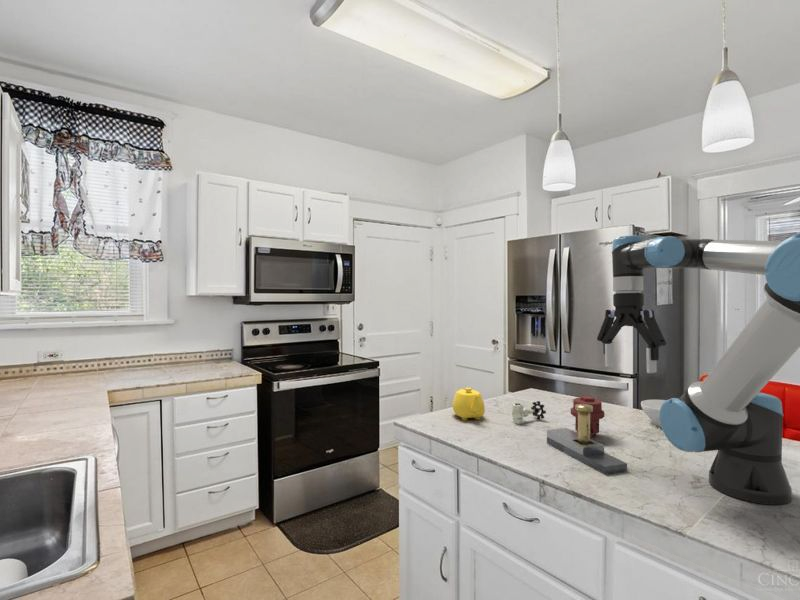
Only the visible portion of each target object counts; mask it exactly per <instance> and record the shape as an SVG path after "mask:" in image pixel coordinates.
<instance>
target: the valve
mask: <svg viewBox="0 0 800 600" xmlns="http://www.w3.org/2000/svg"><path fill="white" fill-rule="evenodd" d="M544 408H545V405H544V404H541V401H540V400H537V401H534V402H532V406H531V407H530V408H529V409H528V408H526V407H524V404H523V403H519V402H514V403H512V411H511V415H512V423H513V424H516V425H522V424H524V418H527V417H529V415H532V416H533V417H536V420H541V419H542V420H543V419H545V414H547V411H546V410H545V409H544ZM539 413H540V414H539Z"/></svg>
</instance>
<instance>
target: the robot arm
mask: <svg viewBox="0 0 800 600" xmlns="http://www.w3.org/2000/svg"><path fill="white" fill-rule="evenodd" d="M611 249H612V250H611V256H612V257H611V258H612V261H611V262H612V291H613V292H615V293H613V295H612V301H613V303H612V304H613V306H614V307H615V309H606V310H605V314H604V320H603V322H602V324H601V327H600V330H599V333H598V335H597V341H598V342H602V344H603V349H602V352H603V355H604V363H605V364H604V367H607V368H608V367H615V343H614V342H613V341H614V340H615V338H616V336H617V335H618V333H619V332H620V331H621V330H622V328H623V327H633V328H635V329H636V331H637V332H638V333H639V334H640V337H642V339H643V340H644V342H645V344H647V347H646V350H645V351H646V353H645V355H646V357H645V358H646V360H645V361H646V374H653V373H654V374H656V373H658V372H657V370H658V367H657V365H658V364H657V363H658V362H657V361H659V359H660V356H659V353H660V351H659V349H660V348H661V347H664V346H667V342H666V340H665V338H664V335H663V333H662V331H661V329H660V326H659V324H658V323H657V320H656V318H655V311H654V310H653V309H644V310H643V306H644V304H645V300H644V299H645V298H644V297H645V296H644V295H645V294H644V292H643V291H644V270H649V269H651V270H652V269H701V270H708V271H709V270H710V271H711V270H712V271H722V272H730V273H731V272H732V273H741V274H742V273H743V274H751V275H760V276H764V277H765V281H766V283H765V284H764V286H763V292H764V294H765V296H766V299H765V300H764V301H763V302H762V304H761V305H760V306H759V308H758V309H757V311H756V312H755V313H754V315H753V316H752V317H751V319H749V320H748V322H747V324H746V325H745V326H744V327H743V329H742V330H741V331H740V333H739V334H738V335H737V337H736V338H734V341H733V342H732V343H731V344H730V346H729V347H728V348H727V350H726V351H725V353H724V354H723V355H722V356H721V357H720V359H719V360H718V361H717V362H716V364H715V365H714V367H713V368H712V370H710V372H709V373H708V375H707V376H706V377H705V379H704V380H703V381H702V380H701V381H700V380H699V381H694V382H692V383H691V384H689V386H688V387H687V389H686V390H685V391H684V393H683V394H682V395H681V396H680V397H678V398H677V397H671V398H669V399H665V400H666V401H665V402H664V403H663V404H662V405H661V408H660V412H659V419H660V422H661V427H660V428H661V429H662V432H663V434H664V436H665V437H666V439H667V440H668V441H669V443H670V444H672V446H674V447H675V448H676V449H678V450H679V451H683V452H685V453H703V452H710V451H711V452H712V451H717V452H716V455H715V457H714V460H713V461H712V464H711V466H710V469H709V471H708V483H709V484H710V486H711V487H712V488H714V489H715V490H717V491H718V492H721V493H722V494H725V495H727V496H729V497H733V498H736V499H739V500H743V501H746V502H751V503H756V504H762V505H771V506H772V505H773V506H774V505H775V506H777V505H785V504H786V505H787V504H789V503H791V502H792V501H793V500H792V499H793V498H792V497H793V496H792V495H793V494H792V493H793V491H792V486H791V485H790V482H789V479H788V476H787V474H786V471H785V468H784V465H783V460H782V457H783V417H784V413H783V403H782V400H781V399H780V398H779V397H777V396H775V395H772V394H769V393H768V394H767V393H764V392H761V391H762V390H763V389H764V387H765V386H766V385H767V384H768V383H769V382H770V381H771V380H772V378H774V376H775V375H776V374H778V372H779V371H780V370H781V369H782V368H783V367H784V366H785V365H786V363H787V362H788V361H789V360H790V359H791V358H792V357H793V355H794V354H796V352H797V350H799V349H800V233H797V234H794V235H792V236H789V237H788V238H786V239H784V240H781V241H780V240H779V241H778V240H777V241H776V240H748V239H747V240H744V239H743V240H742V239H735V240H734V239H713V238H700V239H698V238H693V239H691V238H687V239H686V238H677V236H671V235H667V236H657V237H654V238H651V239H645V240H643V237H642V236H640V235H637V234H636V235H633V234H632V235H623V236H617V237H614V239H613V240H612V248H611ZM642 292H643V293H642ZM643 319H644V320H643Z"/></svg>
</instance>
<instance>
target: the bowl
mask: <svg viewBox="0 0 800 600" xmlns="http://www.w3.org/2000/svg"><path fill="white" fill-rule="evenodd" d="M666 400H667V399H646V400H641V402H640V406H641V409H642V411H643V412H644V414H645V415H646V416H647V417H648V418H649V420H651V422H652V423H653V424H654V425H655V426H656V427H659V428H662V427H661V422H660V419H659V412H660V408H661V405H662V404H663V403H664V402H665V401H666Z"/></svg>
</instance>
